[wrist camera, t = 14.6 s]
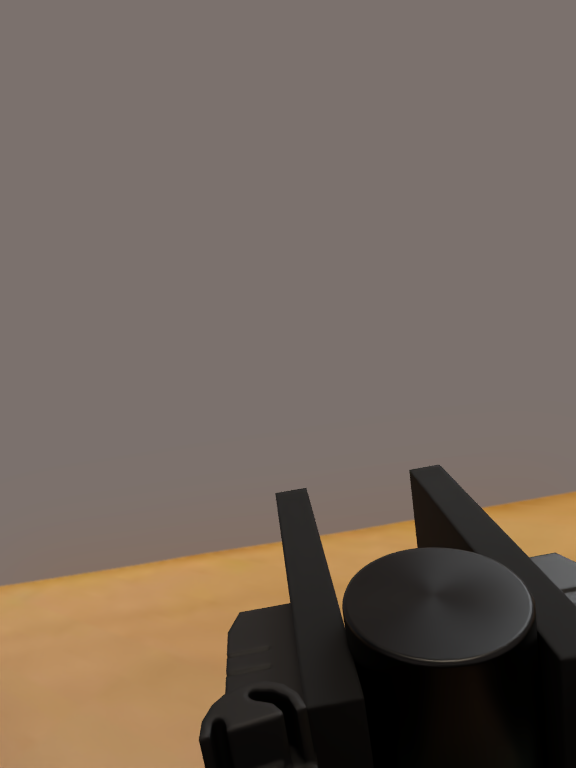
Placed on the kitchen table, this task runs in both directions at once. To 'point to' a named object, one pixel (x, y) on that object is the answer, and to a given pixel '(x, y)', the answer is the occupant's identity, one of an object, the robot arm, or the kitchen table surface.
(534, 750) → the pot lid
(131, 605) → the kitchen table surface
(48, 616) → the kitchen table surface
